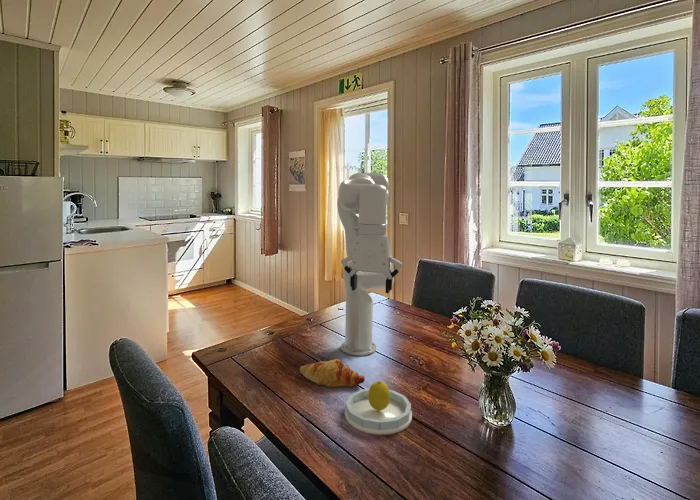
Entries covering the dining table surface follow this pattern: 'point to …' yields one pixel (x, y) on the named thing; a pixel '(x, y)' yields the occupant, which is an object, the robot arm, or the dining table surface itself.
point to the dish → (378, 414)
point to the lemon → (379, 396)
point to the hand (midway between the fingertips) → (370, 290)
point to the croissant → (331, 374)
